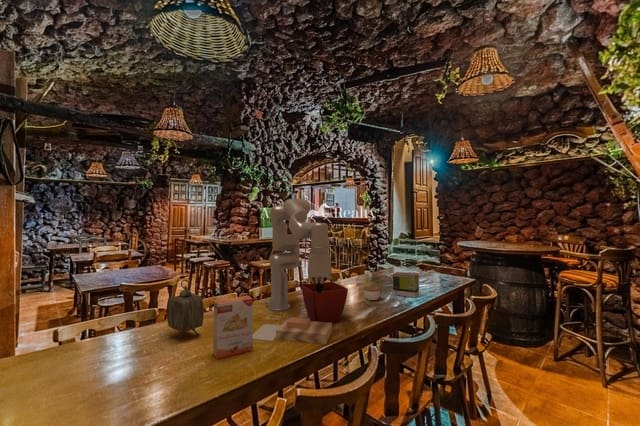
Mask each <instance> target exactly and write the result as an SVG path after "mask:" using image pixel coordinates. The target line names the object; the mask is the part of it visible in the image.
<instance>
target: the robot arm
mask: <svg viewBox="0 0 640 426" xmlns="http://www.w3.org/2000/svg"><path fill="white" fill-rule="evenodd" d="M310 211H311V204H310V202H309V201H308V200H307V199H304V198H288V199H286V200H285V201H284V202H283V204H281V205H274V206H272V207H271V208H270V210H269V218H270V222H271V227H272V231H271V232H272V234H271V235H272V239H271V240H272V242H271V243H272V249H273V250H274V251H276V252H277V253H274V254H272V255H271V256H270V257H269V267H270V281H271V283H270V289H271V291H270V293H271V294H270V296H271V297H270V298H271V299H265V300H264V304H267V305H268V309H269V310H270V311H274V312H280V311H281V312H282V311H287V310H289V309H291V304H290V303H289V299H288V296H289V295H288V294H289V290H288V289H289V288H288V287H289V286H288V283H289V281H288V279H289V278H288V275H287V273H286V272H285V270H293V269H297V268H298V267H299V265H300V240H307V239H308V240H309V239H310V247H308V248H307V251H308V252H310V253H309V255H308V260H307V278H308V279H309V280H313V283H316V291H317V293H322V291H323V290H324V282H327V281H328V280H332V279H333V277H332V276H333V275H332V273H333V272H332V260H331V255H330V253H329V226H328V224H327V223H326V222H317V221H315V222H314V221H313V222H306V220H307V219H308V215H309V214H310ZM285 221H288V226H287V223H286V222H285ZM288 227H289V231H290V233H292V234H288ZM284 251H285V252H284ZM287 251H289V252H287Z"/></svg>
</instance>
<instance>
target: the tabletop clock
mask: <svg viewBox="0 0 640 426" xmlns="http://www.w3.org/2000/svg"><path fill="white" fill-rule="evenodd" d="M183 282H186V283H188V285H189V286H187V285H185V286H184V285H183ZM180 287H181V288H182V289H183V290H181V291H180V292H179V294H178V295H175V296H172V297H171V298H170V299H168V301H167V308H166V309H167V311H166V313H167V314H166V315H167V319H166V320H167V325H168V327H169V328H171V329H173V330H175V331H178V332H180V334H178V338H179V339H181V338H183V333H185V332H189V331H192V332H193V333H194V334H195V337H197V338H199V336H200V333H199V332H197V331H196V329H197V328H201V327H203V324H204V316H205V315H204V310H205V309H204V301H203V298H202V296H200V295H198V294H195V293H192V291H191V290H190V289H191V282H190V281H189V280H187V279H182V280H181V282H180Z"/></svg>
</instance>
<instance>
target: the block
mask: <svg viewBox="0 0 640 426" xmlns="http://www.w3.org/2000/svg"><path fill="white" fill-rule="evenodd" d="M310 321H311V318H306V317H305V318H304V317H303V318H302V317H289V319H288V321H287V328H298V329H307V328H308V326H309V325H310Z"/></svg>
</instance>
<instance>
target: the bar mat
mask: <svg viewBox="0 0 640 426" xmlns="http://www.w3.org/2000/svg"><path fill="white" fill-rule="evenodd" d="M281 325H282V324H274V323H273V324H271V323H270V324H269V323H264V324H263V325H262V326H260V327H259V328H258V329H257V330H256V331H255V332H253V340H254V341H266V342H273V341H274V340H276V330H277V329H278V328H279V327H280V326H281Z"/></svg>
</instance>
